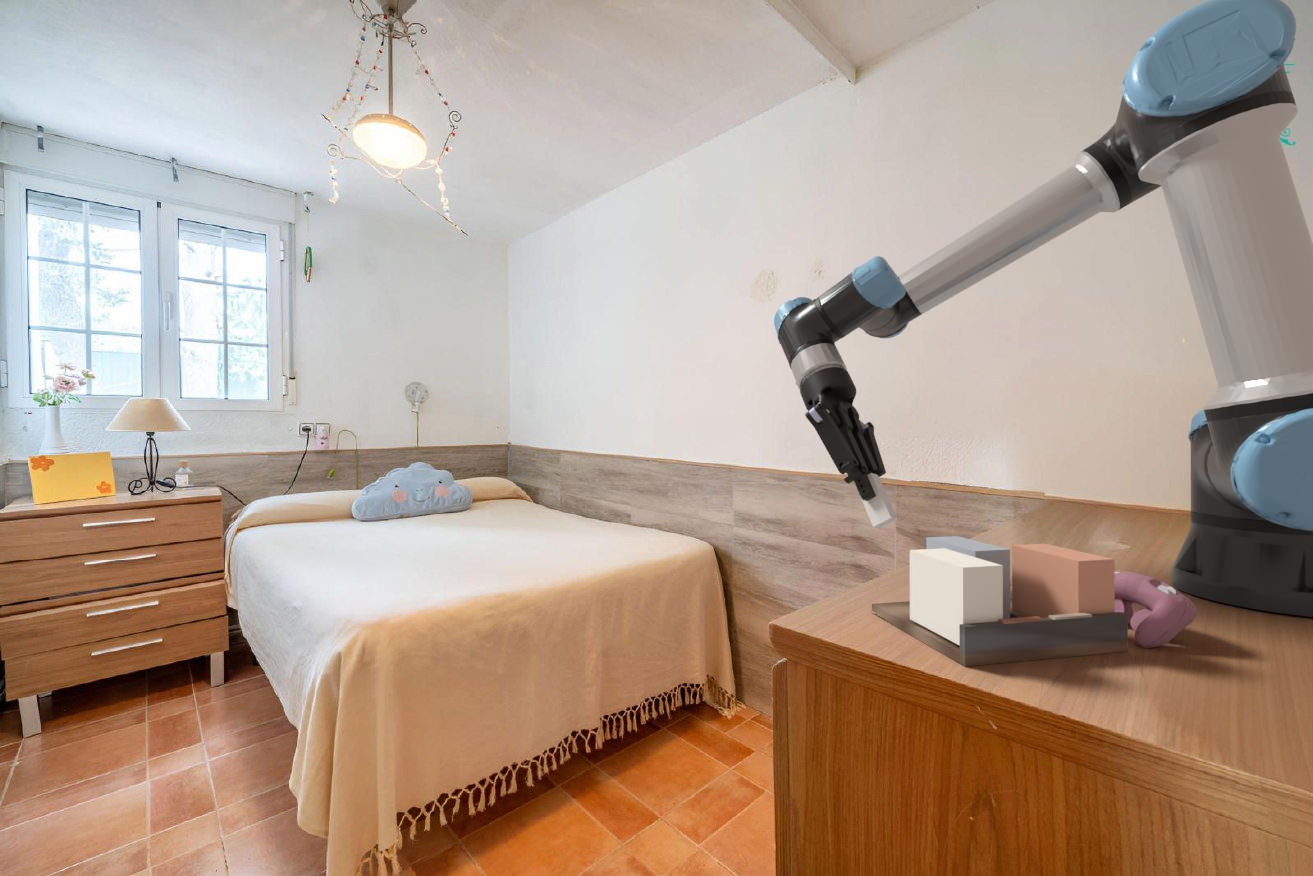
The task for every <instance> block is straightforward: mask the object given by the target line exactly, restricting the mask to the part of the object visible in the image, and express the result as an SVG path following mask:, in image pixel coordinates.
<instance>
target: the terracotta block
mask: <svg viewBox="0 0 1313 876" xmlns="http://www.w3.org/2000/svg"><path fill="white" fill-rule="evenodd" d="M1011 561H1012V562H1011V579H1012V580H1011V583H1012V584H1011V588H1012V589H1011V591H1012V595H1011V596H1012V597H1011V598H1012V612H1015V613H1017V614H1020V615H1022V616H1025V617H1033V616H1038V617H1040V618H1048V615H1059V614H1073V613H1088V614H1101V613H1114V612H1115V572H1116V570H1115V558H1111V557H1105V556H1101V555H1097V554H1093V553H1088V552H1084V551H1079V550H1075V549H1070V548H1066V547H1062V546H1056V545H1052V544H1048V543H1028V544H1011Z"/></svg>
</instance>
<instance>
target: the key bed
mask: <svg viewBox="0 0 1313 876" xmlns="http://www.w3.org/2000/svg"><path fill="white" fill-rule="evenodd" d="M872 611H873V612H875V613H876V614H878V615H879V616H881V617H882V618H884V619H885V620H886V621H885V620H884V619H883V620H884V621H885V622H887V621H888V622H887V623H889V624H890V623H891V624H890V625H892V624H893V625H892V626H894V627H896V628H897V627H898V629H900V630H901V631H903V632H905V633H906V634H908V635H909V636H912V637H913V638H914V639H917V640H918V641H920V642H921V643H924V644H925V645H927V646H929V647H930V648H932V649H934V650H936V651H937V652H939V653H941V654H943V655H944V656H946V657H948V658H949V659H951V660H953V661H955V662H957V663H958V664H960V665H962V666H964V667H974V666H985V665H986V666H987V665H994V664H995V665H996V664H1004V663H1005V664H1006V663H1015V662H1016V663H1017V662H1018V663H1019V662H1028V661H1035V660H1037V661H1038V660H1040V661H1041V660H1049V659H1058V658H1059V659H1060V658H1069V657H1072V658H1073V657H1082V656H1090V655H1092V656H1093V655H1101V654H1111V653H1113V654H1114V653H1123V652H1129V643H1128V641H1129V640H1128V639H1129V631H1128V630H1129V627H1128V625H1129V623H1128V614H1126V613H1122V612H1114V613H1101V614H1088V613H1073V614H1059V615H1048V618H1040V617H1038V616H1033V617H1025V616H1022V615H1020V614H1017V613H1015V612H1012V597H1010V618H1007V619H998V621H997V622H984V623H972V624H960V646H959V645H958V644H956V643H954V642H952V641H950V640H948V639H946V638H944V637H943V636H941V635H939V634H937V633H935V632H933V631H931V630H929V629H927V628H926V627H924V626H922V625H920V624H918V623H916V622H914V621H912V620H911V619H910V600H909V601H894V602H880V603H878V602H877V603H871V612H872ZM882 618H881V619H882Z"/></svg>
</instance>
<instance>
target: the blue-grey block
mask: <svg viewBox="0 0 1313 876" xmlns="http://www.w3.org/2000/svg"><path fill="white" fill-rule="evenodd" d="M925 539H926V541H925V542H926V543H925V544H926V545H925V546H926V547H925V548H926V549H941V548H945V549H949V550H952V551H955V552H959V553H962V554H966V555H969V556H972V557H976V558H979V559H983V560H986V561H989V562H993V563H996V564H1000V565H1003V619H1007V618H1010V598H1011V549H1010V548H1006V547H1001V546H998V545H994V544H991V543H990V544H989V543H986V542H982V541H977V540H974V539H969V538H966V537H961V536H958V535H952V536H950V535H949V536H931V537H930V536H928V537H926V538H925Z"/></svg>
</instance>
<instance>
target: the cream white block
mask: <svg viewBox="0 0 1313 876" xmlns="http://www.w3.org/2000/svg"><path fill="white" fill-rule="evenodd" d="M909 601H910V619H911V620H912V621H914V622H916V623H918V624H920V625H922V626H924V627H926V628H927V629H929V630H931V631H933V632H935V633H937V634H939V635H941V636H943V637H944V638H946V639H948V640H950V641H952V642H954V643H956V644H958V645H959V646H960V624H972V623H984V622H997V621H998V619H1003V565H1000V564H996V563H993V562H989V561H986V560H983V559H979V558H976V557H972V556H969V555H966V554H962V553H959V552H955V551H952V550H949V549H945V548H941V549H925V548H924V549H910V550H909Z"/></svg>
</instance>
